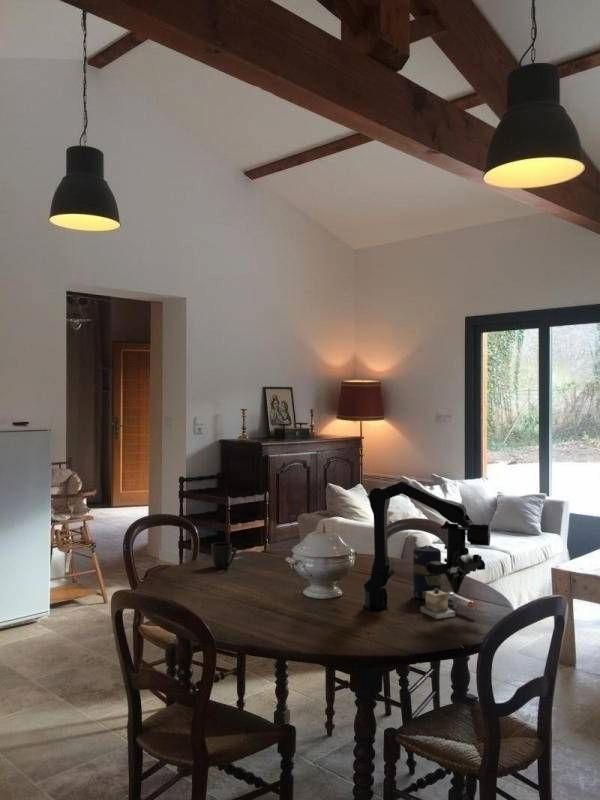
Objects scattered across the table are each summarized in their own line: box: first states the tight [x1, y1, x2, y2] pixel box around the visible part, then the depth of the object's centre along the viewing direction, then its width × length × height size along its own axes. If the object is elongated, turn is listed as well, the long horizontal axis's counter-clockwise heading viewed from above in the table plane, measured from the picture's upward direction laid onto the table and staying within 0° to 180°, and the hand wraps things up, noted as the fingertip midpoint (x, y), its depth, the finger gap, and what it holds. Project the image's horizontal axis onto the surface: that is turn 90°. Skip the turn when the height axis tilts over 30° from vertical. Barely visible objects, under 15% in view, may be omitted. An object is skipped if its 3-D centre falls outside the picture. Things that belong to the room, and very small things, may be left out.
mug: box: [210, 541, 237, 569], centre depth 285 cm, size 8×12×10 cm
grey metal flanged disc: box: [448, 600, 458, 610], centre depth 231 cm, size 4×4×2 cm
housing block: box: [425, 588, 448, 611], centre depth 225 cm, size 5×5×6 cm
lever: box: [445, 591, 477, 610], centre depth 226 cm, size 3×14×2 cm, turn 24°
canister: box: [412, 544, 442, 600], centre depth 243 cm, size 10×10×18 cm
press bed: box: [420, 605, 456, 620], centre depth 224 cm, size 7×9×2 cm
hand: (455, 593), depth 221 cm, fingers closed
